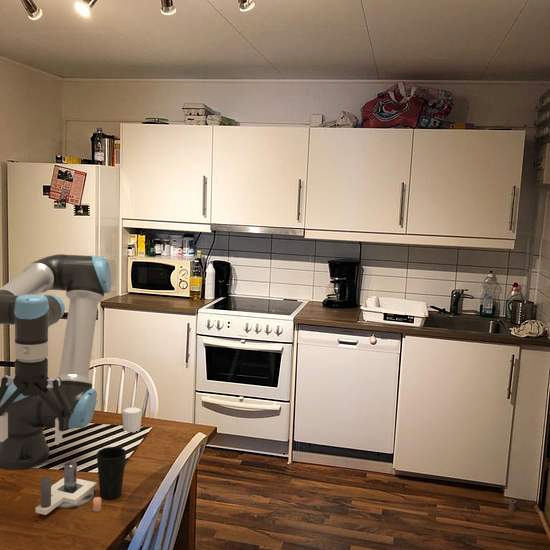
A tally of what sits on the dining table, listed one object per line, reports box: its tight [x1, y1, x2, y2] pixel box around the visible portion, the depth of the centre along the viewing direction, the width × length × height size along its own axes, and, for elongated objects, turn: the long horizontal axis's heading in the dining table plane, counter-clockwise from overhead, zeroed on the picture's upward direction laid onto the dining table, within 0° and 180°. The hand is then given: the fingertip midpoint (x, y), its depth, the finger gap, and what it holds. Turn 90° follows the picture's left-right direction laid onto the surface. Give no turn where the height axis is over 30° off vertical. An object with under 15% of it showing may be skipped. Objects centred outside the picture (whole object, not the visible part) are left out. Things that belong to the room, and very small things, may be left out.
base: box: [56, 461, 95, 509], centre depth 160 cm, size 12×12×9 cm
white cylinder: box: [121, 406, 143, 433], centre depth 207 cm, size 7×7×7 cm
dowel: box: [92, 496, 102, 513], centre depth 155 cm, size 2×2×3 cm
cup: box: [96, 446, 127, 501], centre depth 162 cm, size 8×8×12 cm
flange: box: [35, 476, 98, 516], centre depth 157 cm, size 17×10×8 cm, turn 163°
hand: (31, 441), depth 150 cm, fingers open, 13 cm apart
